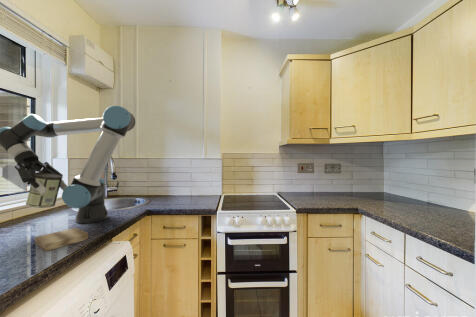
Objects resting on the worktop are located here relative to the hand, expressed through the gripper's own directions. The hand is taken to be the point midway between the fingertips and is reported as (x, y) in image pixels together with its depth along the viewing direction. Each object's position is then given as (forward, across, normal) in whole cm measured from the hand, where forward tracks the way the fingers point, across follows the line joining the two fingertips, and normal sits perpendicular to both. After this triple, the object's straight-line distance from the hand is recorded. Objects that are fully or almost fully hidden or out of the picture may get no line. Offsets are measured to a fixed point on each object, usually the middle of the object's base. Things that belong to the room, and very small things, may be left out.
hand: (55, 190), depth 99 cm
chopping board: (+22, +8, -6) cm, 24 cm away
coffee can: (0, +1, -10) cm, 10 cm away
